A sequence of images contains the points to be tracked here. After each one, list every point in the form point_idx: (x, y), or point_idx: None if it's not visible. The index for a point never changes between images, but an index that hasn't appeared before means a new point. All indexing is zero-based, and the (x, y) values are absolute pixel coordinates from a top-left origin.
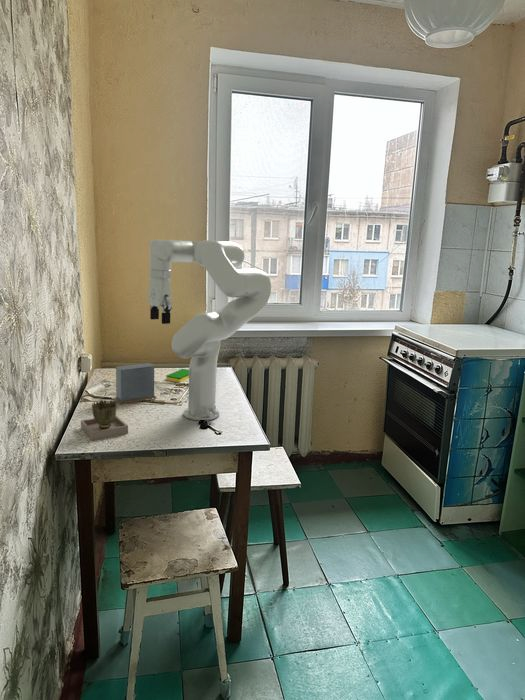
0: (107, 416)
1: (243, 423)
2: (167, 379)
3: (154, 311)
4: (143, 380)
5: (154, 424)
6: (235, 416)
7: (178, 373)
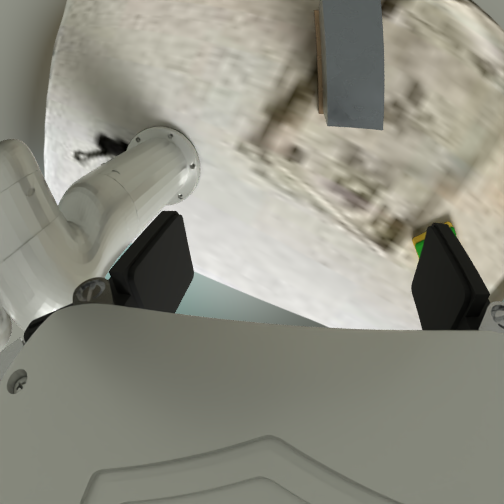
0: None
1: None
2: (445, 223)
3: (443, 306)
4: (324, 77)
5: (143, 51)
6: None
7: None
